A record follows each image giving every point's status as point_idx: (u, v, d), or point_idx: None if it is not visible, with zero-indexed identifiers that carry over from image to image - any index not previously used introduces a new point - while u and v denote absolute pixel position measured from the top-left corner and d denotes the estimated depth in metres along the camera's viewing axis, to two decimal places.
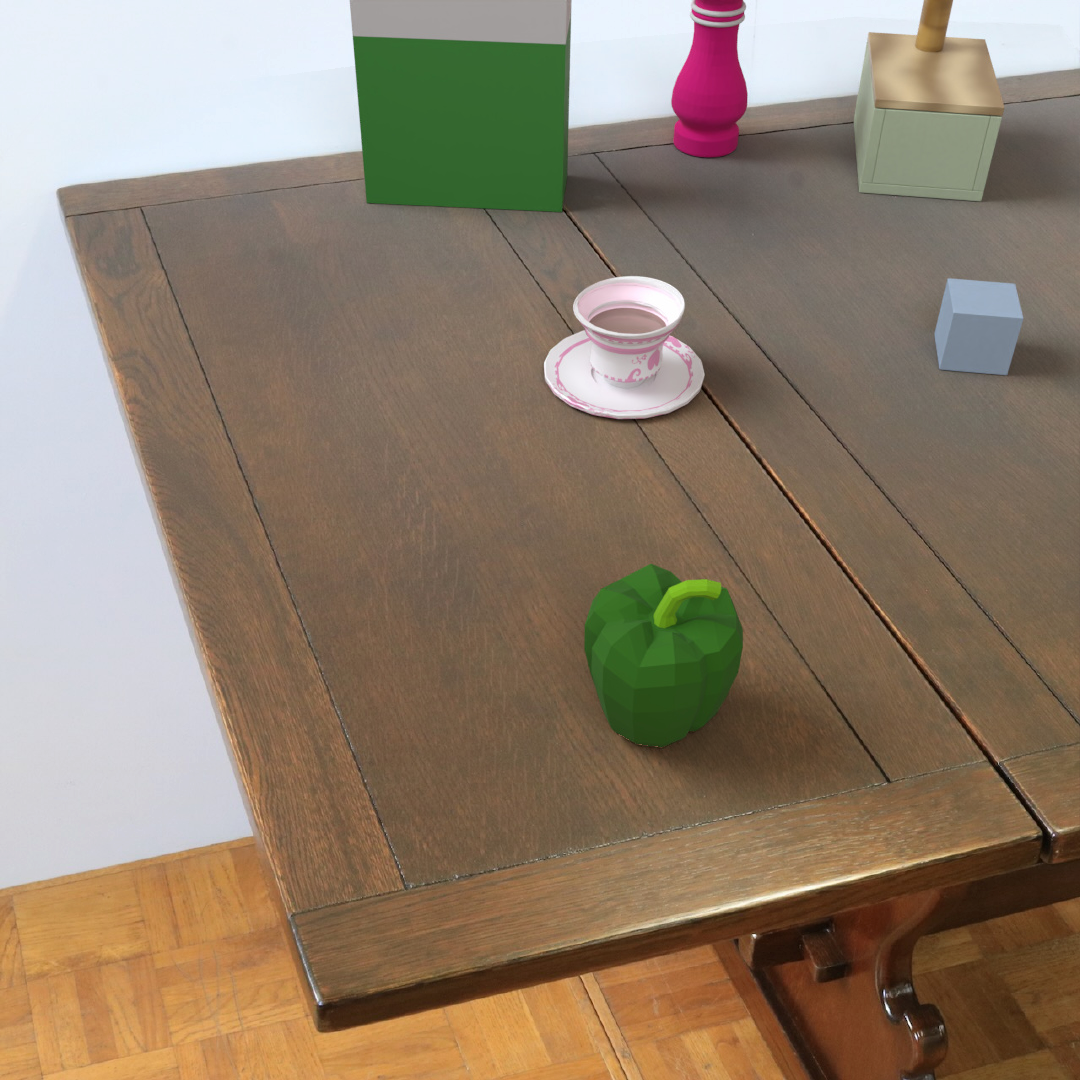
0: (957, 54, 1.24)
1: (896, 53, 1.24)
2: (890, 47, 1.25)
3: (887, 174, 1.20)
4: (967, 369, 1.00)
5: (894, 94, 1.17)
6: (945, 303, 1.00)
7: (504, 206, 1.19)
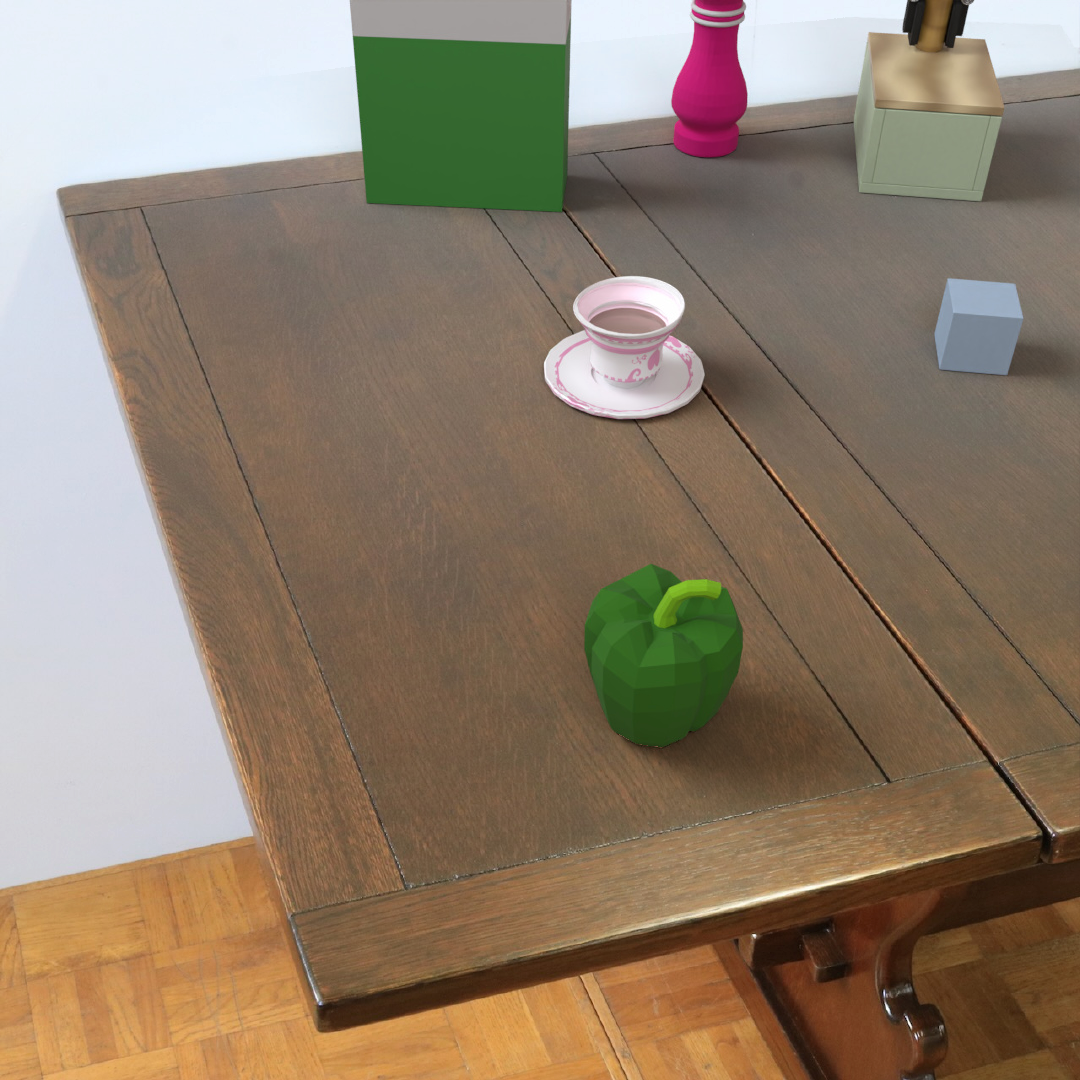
0: (957, 54, 1.24)
1: (896, 53, 1.24)
2: (890, 47, 1.25)
3: (887, 174, 1.20)
4: (967, 369, 1.00)
5: (894, 94, 1.17)
6: (945, 303, 1.00)
7: (504, 206, 1.19)
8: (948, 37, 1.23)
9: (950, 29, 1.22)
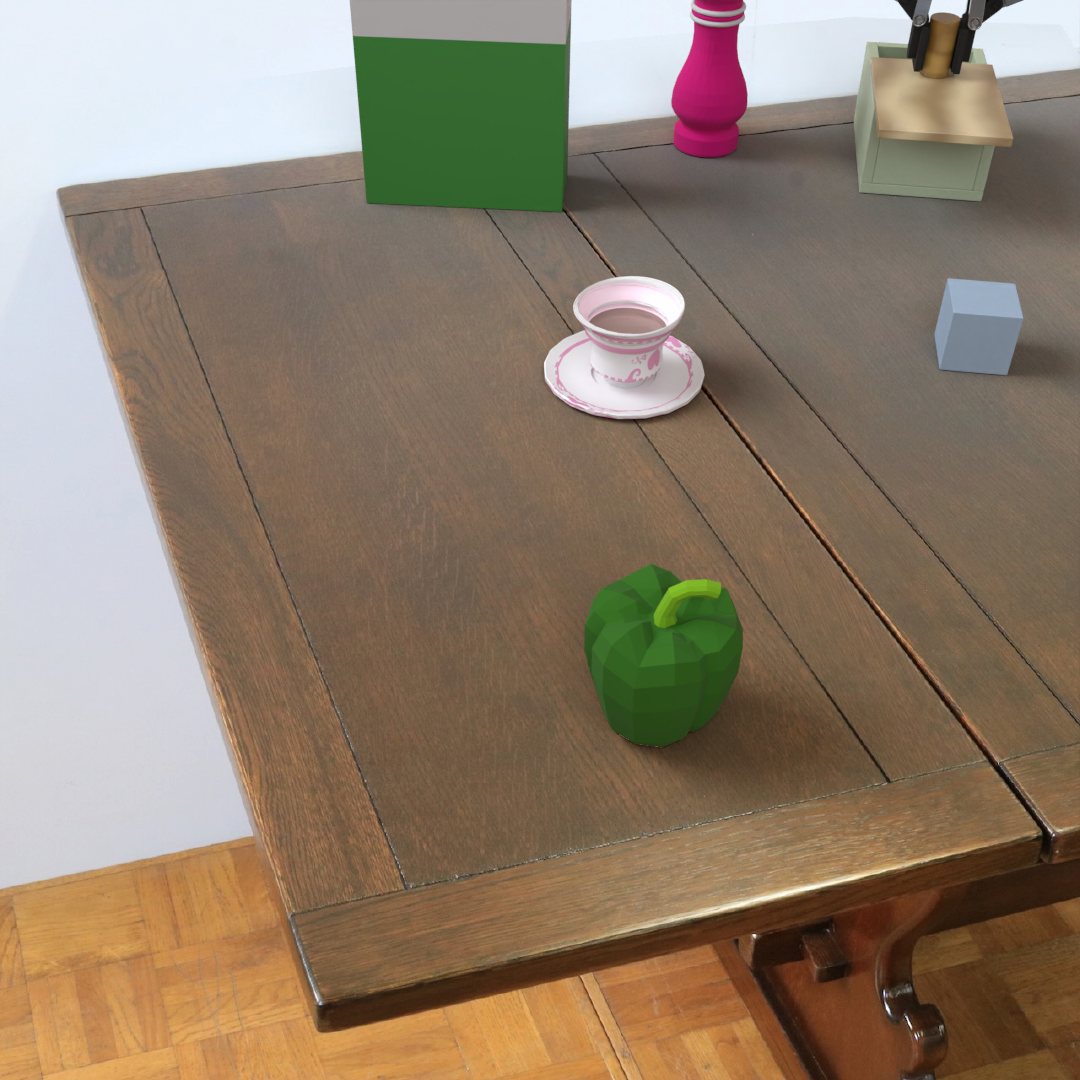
0: (963, 81, 1.19)
1: (900, 80, 1.19)
2: (894, 73, 1.20)
3: (887, 174, 1.20)
4: (967, 369, 1.00)
5: (898, 124, 1.12)
6: (945, 303, 1.00)
7: (504, 206, 1.19)
8: (954, 63, 1.18)
9: (956, 55, 1.18)
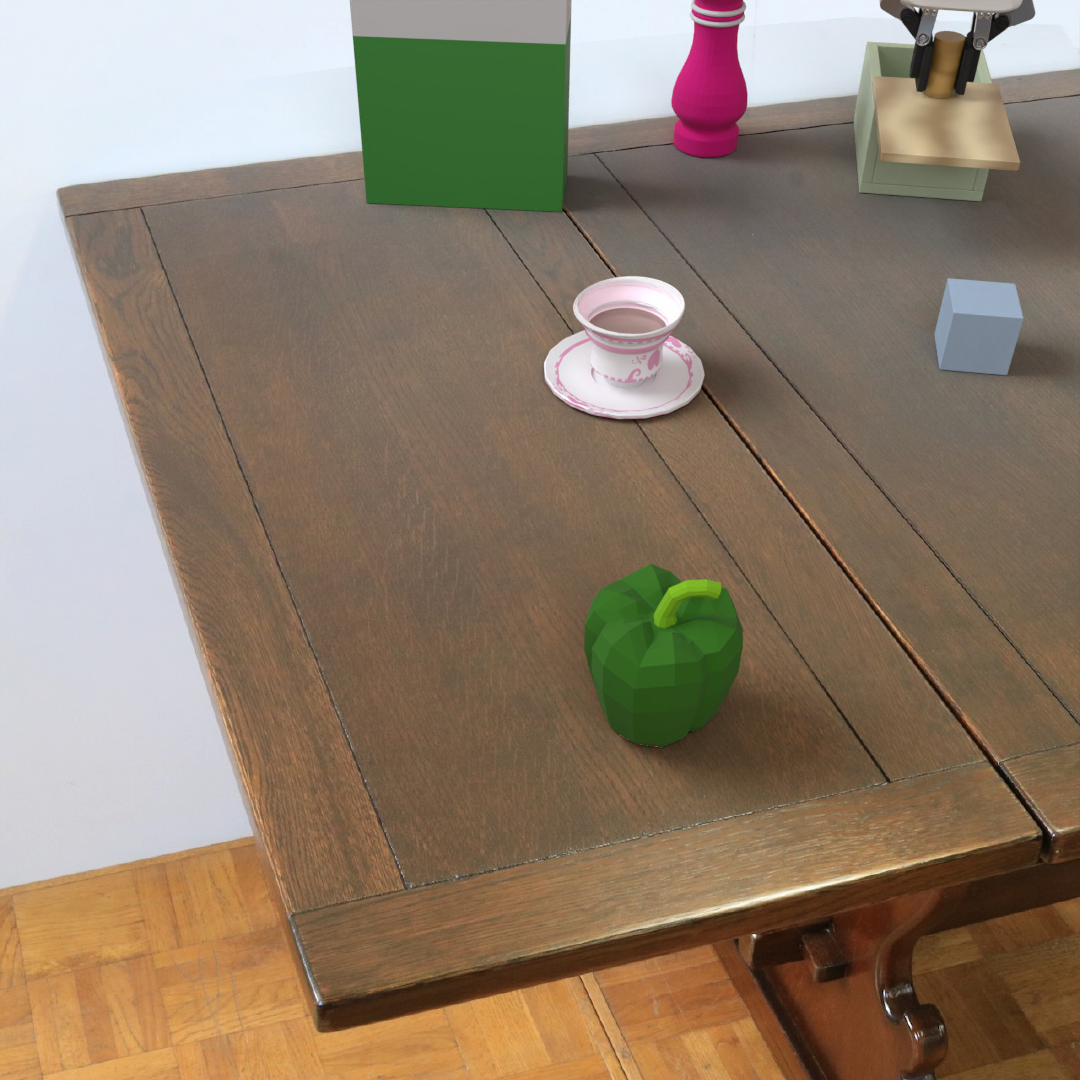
0: (968, 101, 1.16)
1: (903, 100, 1.16)
2: (896, 93, 1.17)
3: (887, 174, 1.20)
4: (967, 369, 1.00)
5: (901, 147, 1.09)
6: (945, 303, 1.00)
7: (504, 206, 1.19)
8: (958, 83, 1.15)
9: (961, 75, 1.14)
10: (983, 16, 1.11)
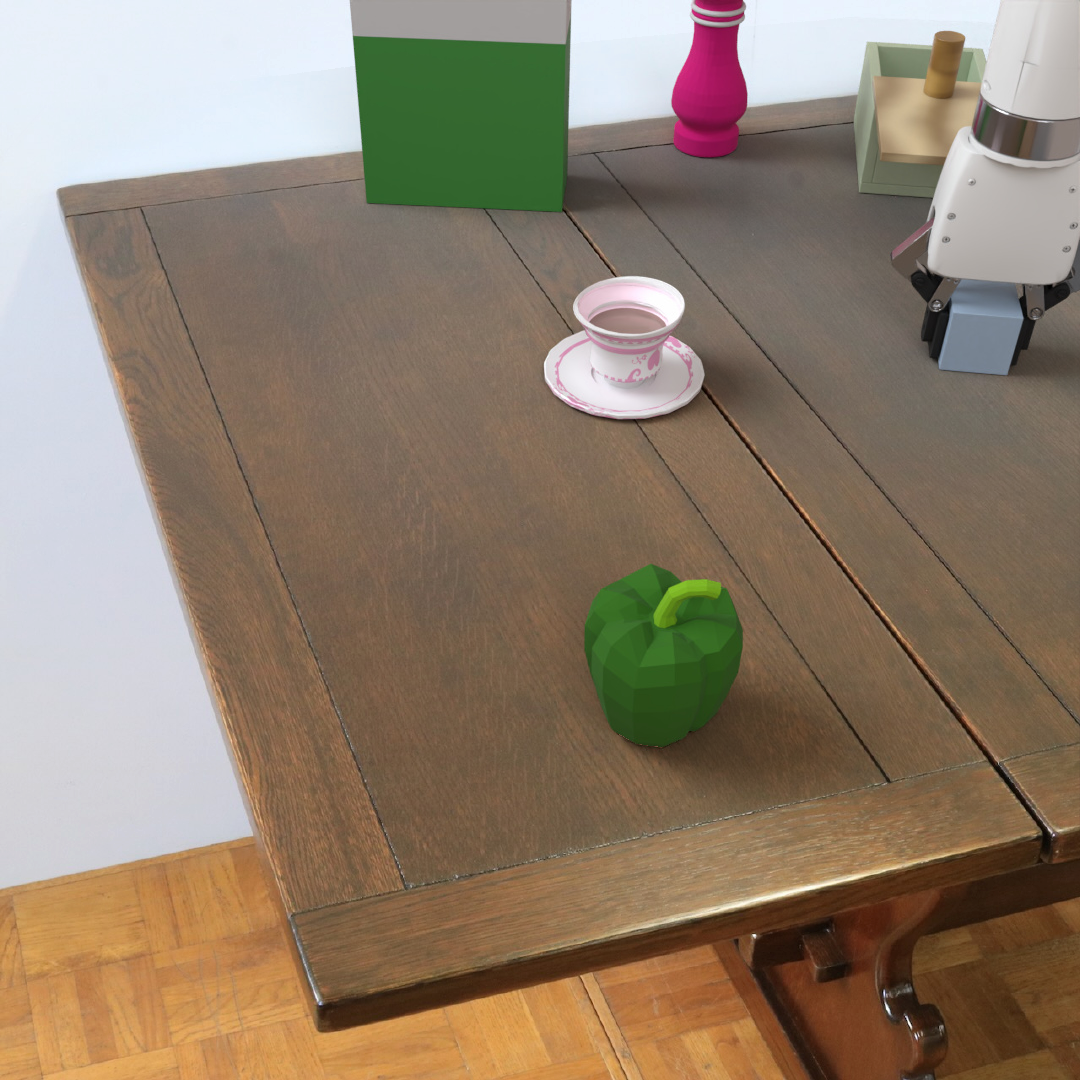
0: (968, 101, 1.16)
1: (903, 100, 1.16)
2: (896, 93, 1.17)
3: (887, 174, 1.20)
4: (967, 369, 1.00)
5: (901, 147, 1.09)
6: None
7: (504, 206, 1.19)
8: None
9: None
10: (1033, 287, 0.96)
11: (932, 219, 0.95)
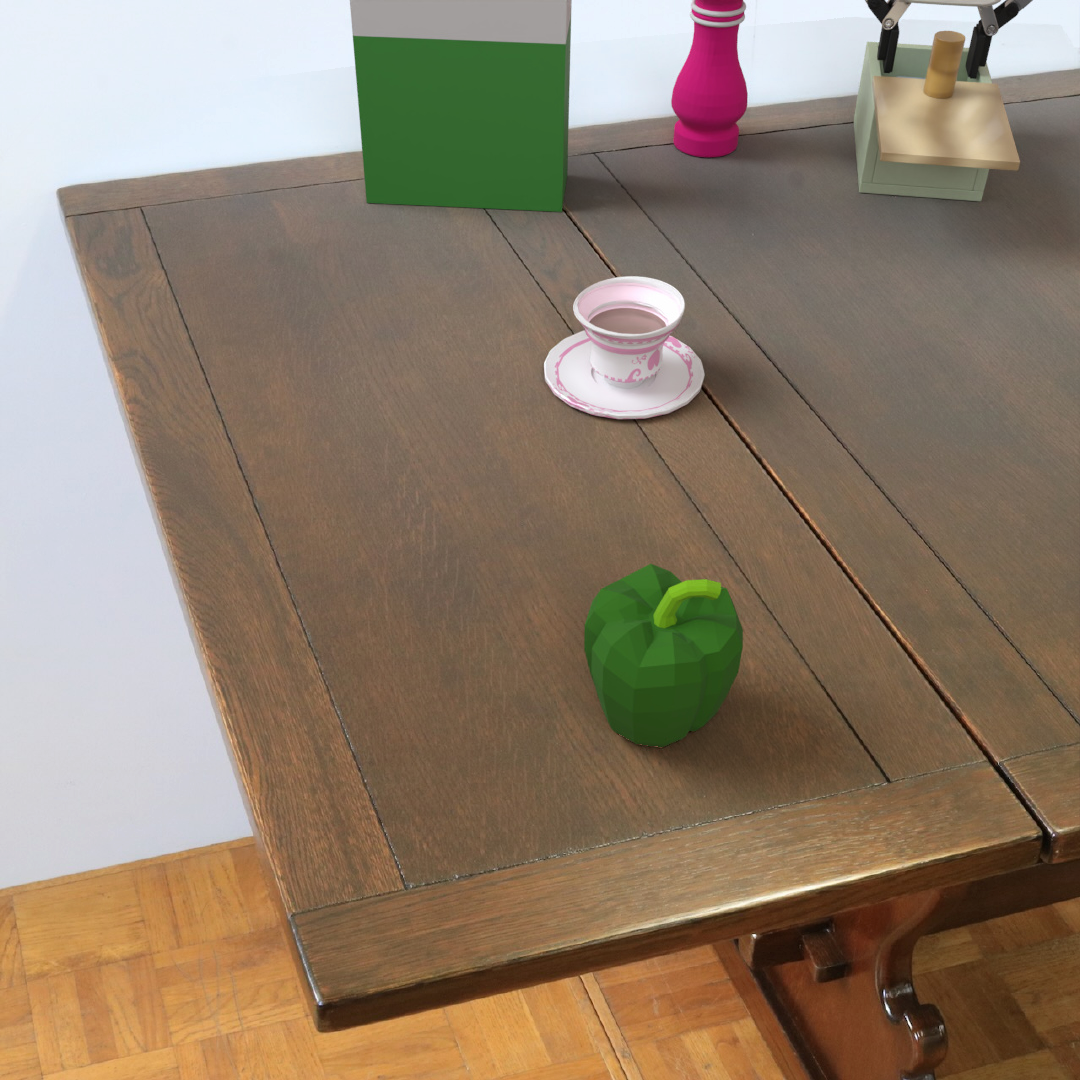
0: (968, 101, 1.16)
1: (903, 100, 1.16)
2: (896, 93, 1.17)
3: (887, 174, 1.20)
4: None
5: (901, 147, 1.09)
6: None
7: (504, 206, 1.19)
8: (971, 68, 1.22)
9: (973, 60, 1.21)
10: (983, 7, 1.18)
11: None
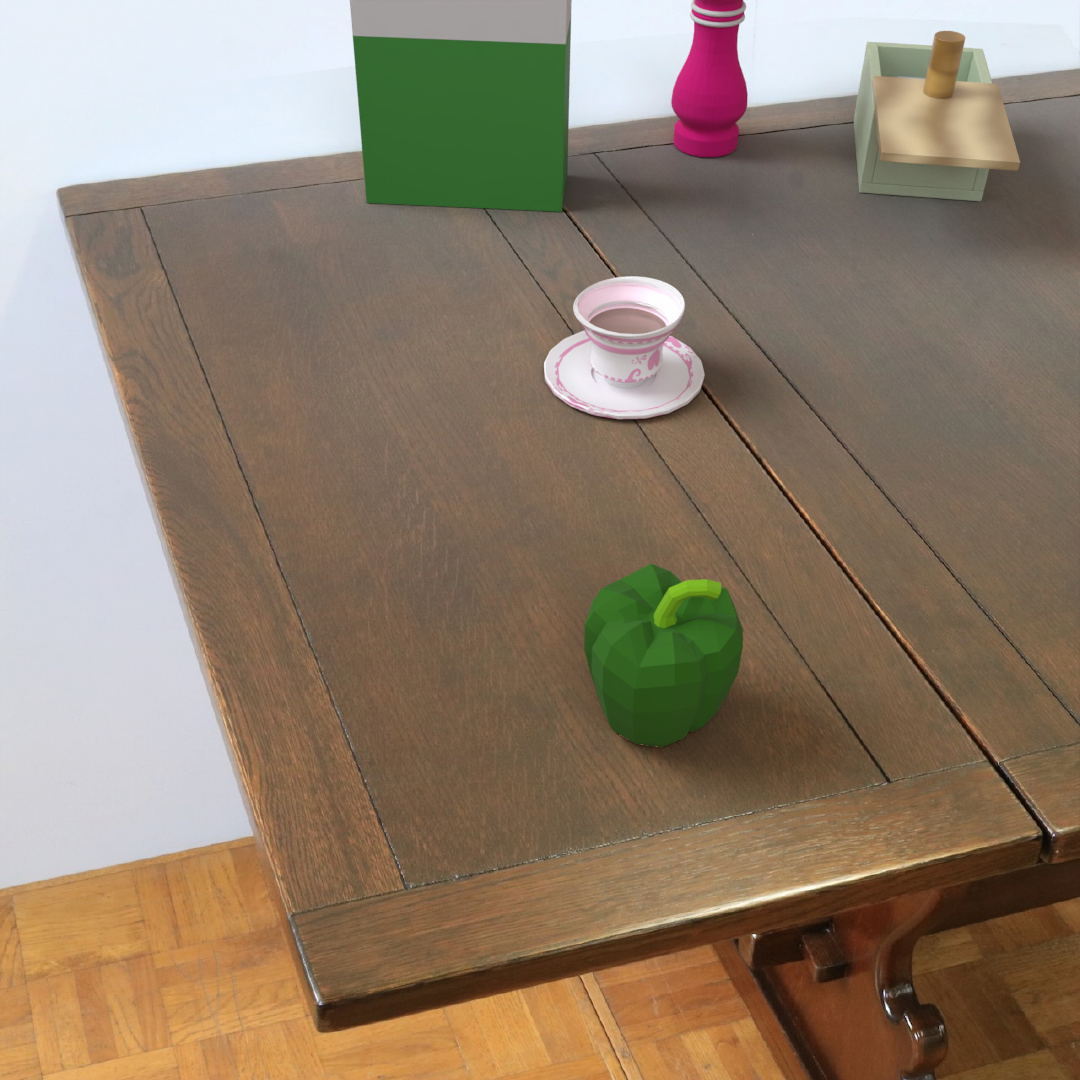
0: (968, 101, 1.16)
1: (903, 100, 1.16)
2: (896, 93, 1.17)
3: (887, 174, 1.20)
4: None
5: (901, 147, 1.09)
6: None
7: (504, 206, 1.19)
8: None
9: None
10: None
11: None
